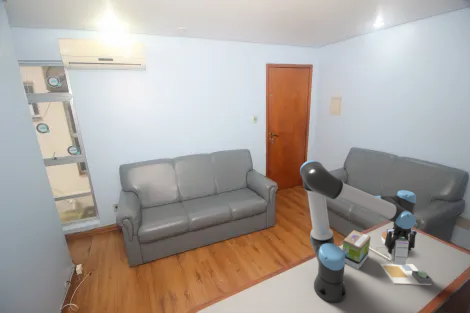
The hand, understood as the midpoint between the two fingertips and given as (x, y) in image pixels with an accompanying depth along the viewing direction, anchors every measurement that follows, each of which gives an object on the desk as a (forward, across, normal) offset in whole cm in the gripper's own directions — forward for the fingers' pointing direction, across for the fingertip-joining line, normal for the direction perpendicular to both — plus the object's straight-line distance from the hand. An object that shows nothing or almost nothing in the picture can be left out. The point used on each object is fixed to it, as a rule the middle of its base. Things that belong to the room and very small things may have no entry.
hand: (397, 258), depth 119 cm
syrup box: (+2, 0, 0) cm, 2 cm away
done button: (+8, +10, -5) cm, 13 cm away
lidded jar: (+10, +10, +22) cm, 26 cm away
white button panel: (+9, +4, -1) cm, 10 cm away
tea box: (+9, -17, +10) cm, 22 cm away
